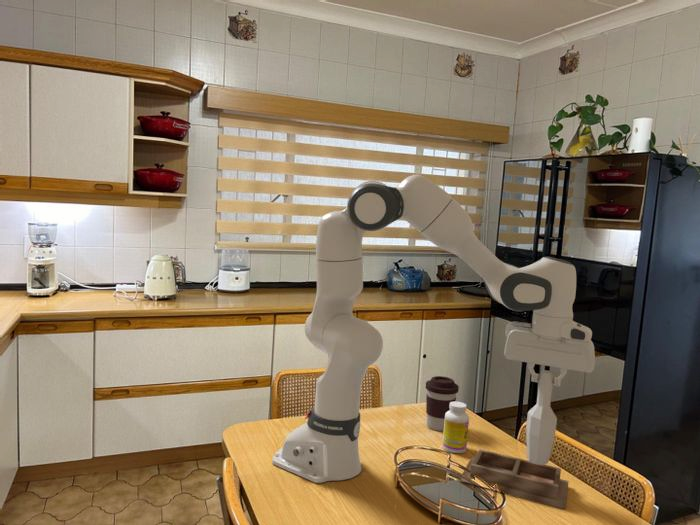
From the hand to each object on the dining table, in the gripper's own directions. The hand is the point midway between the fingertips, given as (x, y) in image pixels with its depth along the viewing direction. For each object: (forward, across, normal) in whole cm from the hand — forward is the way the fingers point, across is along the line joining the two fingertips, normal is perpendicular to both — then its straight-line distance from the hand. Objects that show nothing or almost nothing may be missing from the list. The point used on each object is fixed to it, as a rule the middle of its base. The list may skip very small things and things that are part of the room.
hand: (545, 383), depth 131 cm
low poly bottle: (+19, 0, 0) cm, 19 cm away
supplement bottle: (+27, -23, +12) cm, 37 cm away
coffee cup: (+27, -31, +25) cm, 48 cm away
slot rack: (+26, -5, 0) cm, 27 cm away
